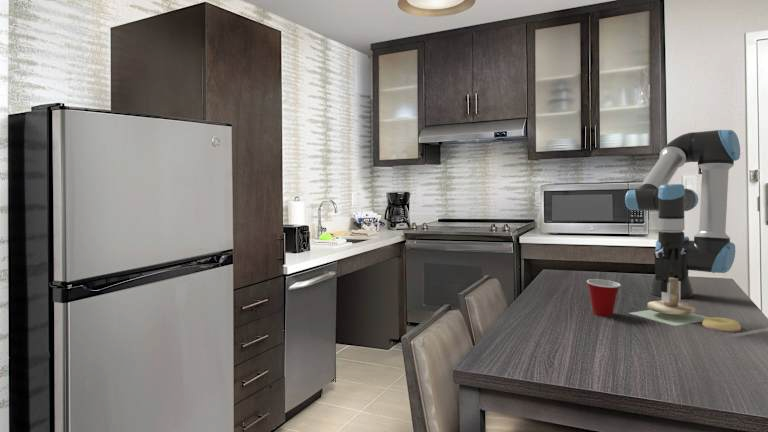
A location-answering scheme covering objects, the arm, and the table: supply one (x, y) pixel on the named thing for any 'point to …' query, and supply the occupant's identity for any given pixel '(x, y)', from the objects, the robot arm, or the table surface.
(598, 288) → the plastic cup
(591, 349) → the table surface
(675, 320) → the mat
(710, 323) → the donut
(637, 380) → the table surface
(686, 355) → the table surface
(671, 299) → the lid
